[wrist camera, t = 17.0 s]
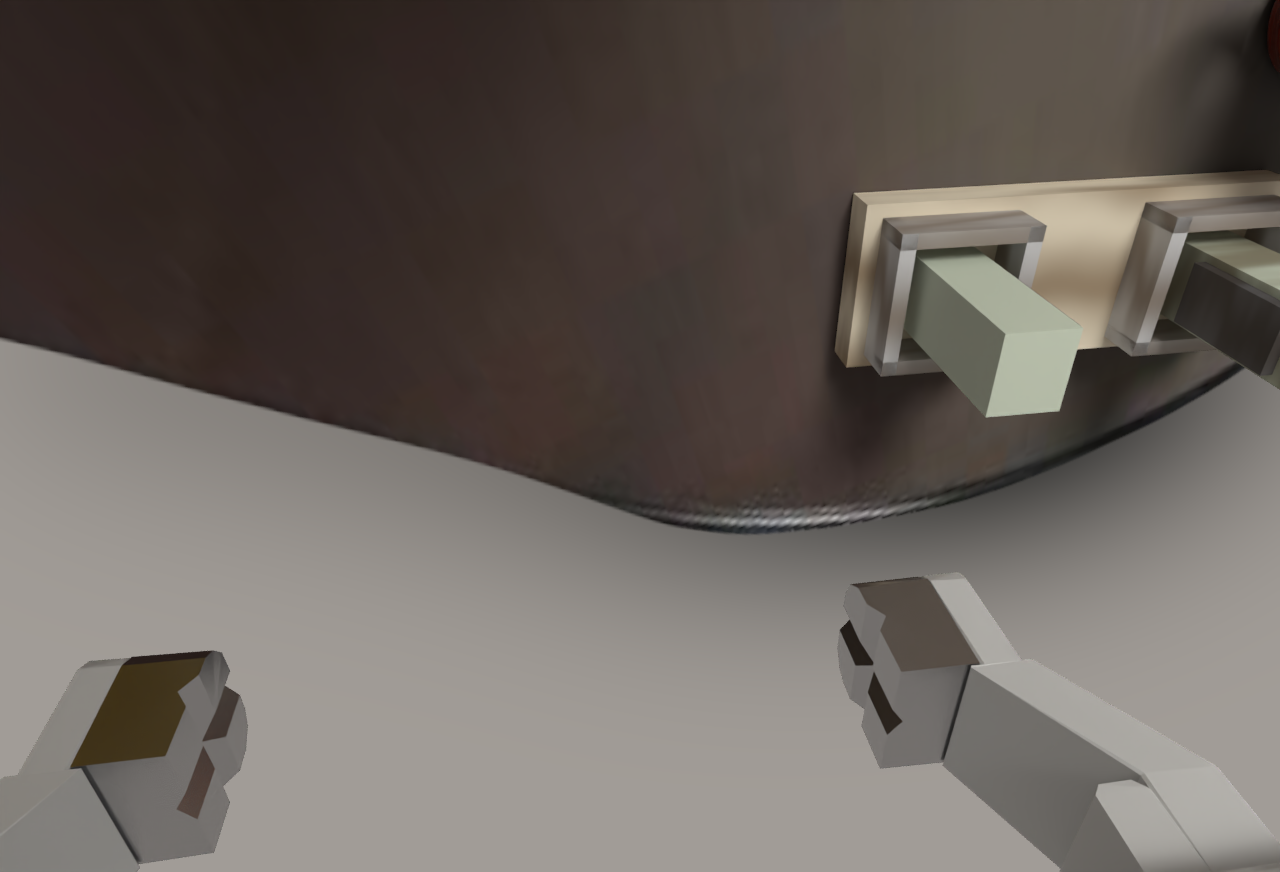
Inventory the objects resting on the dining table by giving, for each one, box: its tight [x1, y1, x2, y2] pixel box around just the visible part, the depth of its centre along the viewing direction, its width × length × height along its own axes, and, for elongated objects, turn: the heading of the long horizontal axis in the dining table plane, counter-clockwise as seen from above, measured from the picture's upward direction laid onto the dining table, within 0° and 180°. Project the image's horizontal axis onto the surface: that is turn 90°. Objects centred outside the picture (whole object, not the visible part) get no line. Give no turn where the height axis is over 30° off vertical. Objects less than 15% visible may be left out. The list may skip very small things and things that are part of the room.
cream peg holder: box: [835, 170, 1280, 389], centre depth 41 cm, size 9×23×12 cm, turn 91°
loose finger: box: [904, 246, 1083, 417], centre depth 40 cm, size 4×4×10 cm
